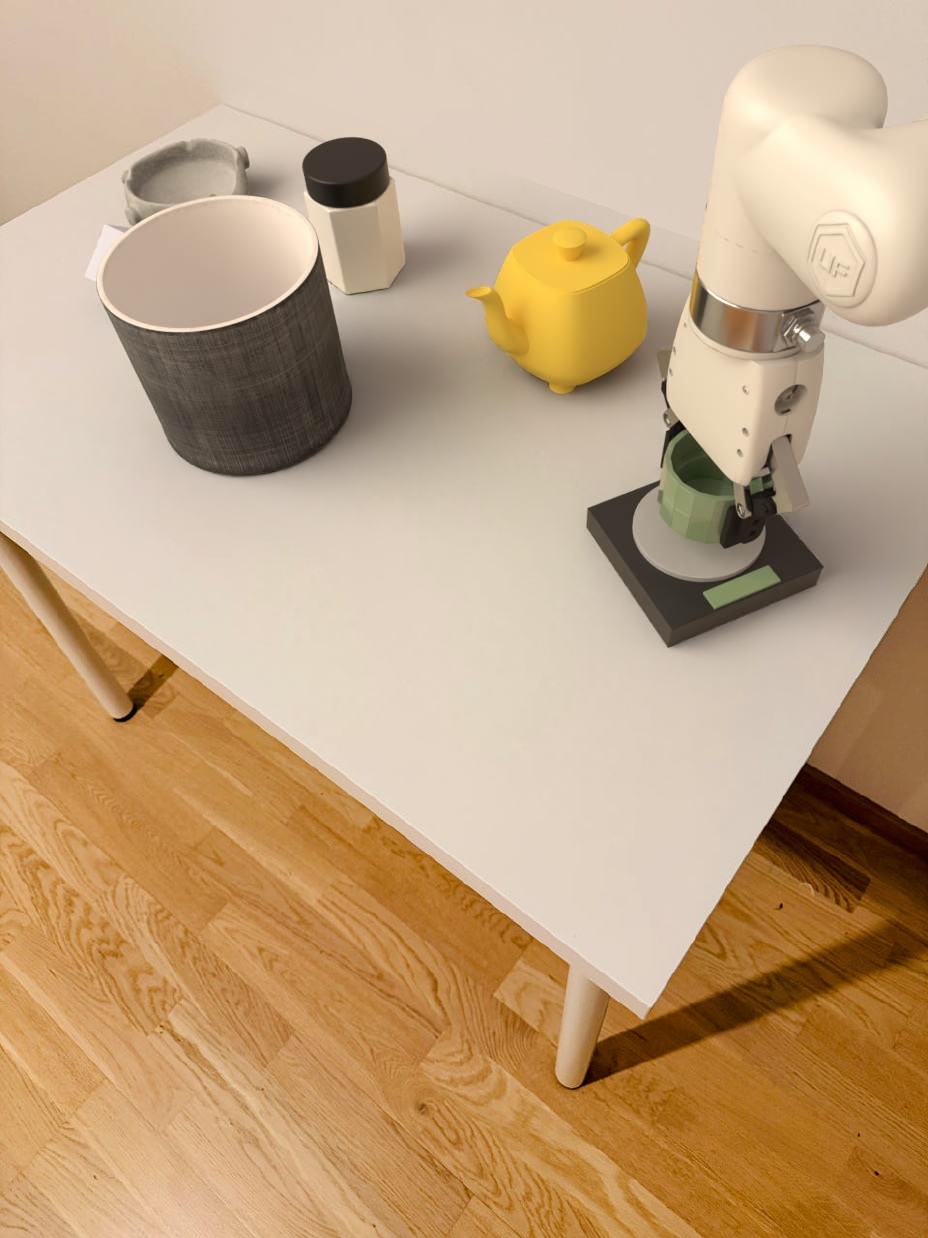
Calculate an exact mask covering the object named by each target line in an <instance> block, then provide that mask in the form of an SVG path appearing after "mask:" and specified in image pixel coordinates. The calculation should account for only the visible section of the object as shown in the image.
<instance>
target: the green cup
mask: <svg viewBox="0 0 928 1238" xmlns="http://www.w3.org/2000/svg"><path fill="white" fill-rule="evenodd" d="M659 480H660V486H659V492H658V498H657V502H658V508H659V514H660V515H661V517H662V518H663V520H664V521H665V522H666V524H667V525H668V526H669V528H671V529H672V530H673V531H675V532H677V533H678V534H680V535H681V536H683V537H685V538H687V539H690V540H693V541H697V542H701V543H706V544H711V543H719V542H720V535H721V532H722V528H723V524H724V521H725V517H726V513H727V510H728V508H729V507H730V506H732V505H734V504H735V499H734V492H733V484H732V480H730V479H729V478H728V477H727V476H726V475H725V474H724V473H723V472H722V471H721V469H720V468H719V467H718V466H717V465H716V464H715V462H714V461H713V460H712V459H711V458H710V457H709V455H708V454H707V453H706V452H705V451H704V449H703V448H702V447H701V446H700V445H699V443H698V442H697V441H696V440H695V438H694V437H693V436H692V435H691V434H690V432H689V431H688V430H687V429H686V430H683V431H681V432H680V433H679V434H678V435H677V436H676V437H675V438H674V439H672V440H671V441H670V443H669V445H668V448H667V450H666V453H665V456H664V462H663V468H661V475H660V479H659ZM759 491H763V485H762V477H760V478H758V479H755V480H753V481H751V482H750V493H751V495H752V494H754V493H757V492H759Z"/></svg>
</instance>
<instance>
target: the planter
mask: <svg viewBox="0 0 928 1238" xmlns="http://www.w3.org/2000/svg"><path fill="white" fill-rule="evenodd" d="M129 228H130V229H129V230H128V231H126V232H125V233H124V234H123V235H122V236H120V237H119V238H118V239H117V240H116V241H115V242H114V243H113V245H112V246H111V247H110V248H109V250H108V251H107V252H106V254H105V255H104V257H103V259H102V261H101V263H100V266H99V268H98V272H97V278H96V282H95V283H96V285H95V286H96V291H97V295H98V297H99V299H100V301H101V303H102V306H103V308H104V310H105V312H106V314H107V316H108V319H109V320H110V322H111V324H112V327H113V328H114V331H115V332H116V333H115V334H116V335H117V337H118V339H119V341H120V343H121V345H122V347H123V349H124V352H125V353H126V356H127V358H128V360H129V361H130V364H131V365H132V368H133V370H134V372H135V374H136V376H137V378H138V380H139V382H140V385H141V387H142V389H143V390H144V393H145V394H146V396H147V398H148V401H149V403H150V404H151V406H152V409H153V410H154V413H155V414H156V417H157V420H158V421H159V423H160V425H161V428H162V430H163V433H164V435H165V437H166V440H167V442H168V443H169V445H170V447H171V449H173V450H174V451H175V453H176V454H177V455H178V456H179V457H180V458H182V459H183V460H184V461H185V462H187V463H189V464H191V465H193V466H194V467H196V468H198V469H201V470H203V471H206V472H211V473H213V474H219V475H226V476H251V475H260V474H261V475H262V474H264V473H270V472H274V471H275V472H276V471H278V470H281V469H284V468H288V467H290V466H292V465H295V464H296V463H299V462H301V461H303V460H305V459H307V458H309V457H310V456H312V455H314V454H315V453H316V452H318V451H319V450H320V449H322V448H323V447H324V446H326V445H327V444H328V443H329V442H330V441H331V440H332V439H333V438H334V437H335V436H336V435H337V433H338V432H339V431H340V429H342V427H343V426H344V423H345V421H346V420H347V418H348V415H349V413H350V411H351V406H352V400H353V389H352V384H351V380H350V375H349V373H348V369H347V365H346V360H345V355H344V352H343V347H342V341H341V337H340V333H339V328H338V324H337V318H336V314H335V309H334V305H333V300H332V295H331V291H330V287H329V280H327V277H326V272H325V268H324V263H323V258H322V254H321V249H320V245H319V240H318V236H317V233H316V231H315V229H314V227H313V225H312V224H311V223H310V220H309V218H307V217H306V216H305V215H304V214H303V213H301V211H299V210H297V209H295V208H294V207H292V206H290V205H288V204H286V203H284V202H281V201H278V200H275V199H271V198H267V197H262V196H256V195H248V196H246V195H226V196H214V197H207V198H202V199H197V200H192V201H188V202H185V203H181V204H178V205H175V206H172V207H170V208H167V209H164V210H162V211H160V212H158V213H155V214H153V215H151V216H149V217H148V218H146V219H144V220H142V221H141V222H139V223H137V224H136V225H134V226H133V227H132V226H131V227H129Z"/></svg>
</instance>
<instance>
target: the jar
mask: <svg viewBox="0 0 928 1238" xmlns="http://www.w3.org/2000/svg"><path fill="white" fill-rule="evenodd" d="M388 164H389V163H388V157H387V153H386V150H385V149H384V147H383V146H382V145H381V144H380V143H378V142H377V141H374V140H372V139H369V138H365V137H358V136H346V137H345V136H344V137H337V138H334V139H330V140H327V141H324V142H322V143H320V144H318V145H316V146H314V147H313V148H312V149H310V150H309V151H308V152H307V153H306V154H305V156H304V157H303V159H302V164H301V169H302V173H303V178H304V183H305V186H306V187H305V188H306V189H305V190H304V191H303V198H304V202H305V206H306V211H307V216H308V220H309V221H310V223H311V224H312V225H313V227H314V229H315V231H316V233H317V236H318V240H319V245H320V249H321V254H322V258H323V263H324V268H325V272H326V277H327V281H328V282H330V283H331V284H332V285H333V286H335V287H336V288H337V289H338V290H340V291H341V292H342V293H344V294H345V295H352V294H358V293H359V294H360V293H365V292H371V291H379V290H384V289H389V288H390V287H391V285H392V284H393V283H394V281H395V279H396V278H397V276H398V275H399V273H400V272H401V270H402V269H403V267H404V265H405V264H406V261H407V260H406V253H405V245H404V239H403V232H402V231H403V230H402V223H401V217H400V210H399V201H398V195H397V187H396V180H395V178H394V177H393V176H391V175H390V171H389V165H388Z"/></svg>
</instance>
